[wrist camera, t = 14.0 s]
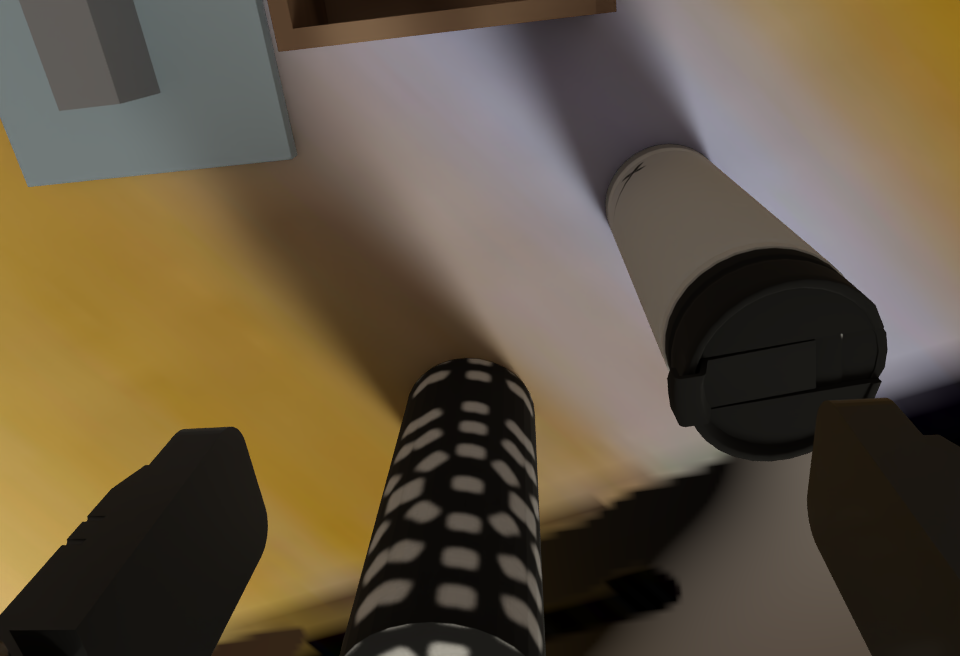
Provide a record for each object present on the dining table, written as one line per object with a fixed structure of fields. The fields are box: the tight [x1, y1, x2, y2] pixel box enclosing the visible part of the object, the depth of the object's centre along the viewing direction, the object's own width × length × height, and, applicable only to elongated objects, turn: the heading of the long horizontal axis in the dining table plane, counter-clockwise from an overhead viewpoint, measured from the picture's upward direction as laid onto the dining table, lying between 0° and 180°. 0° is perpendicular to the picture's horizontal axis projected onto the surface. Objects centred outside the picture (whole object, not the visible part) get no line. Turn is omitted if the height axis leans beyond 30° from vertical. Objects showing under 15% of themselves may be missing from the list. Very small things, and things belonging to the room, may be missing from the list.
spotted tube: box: [340, 358, 546, 656], centre depth 35 cm, size 8×8×20 cm
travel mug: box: [605, 144, 887, 461], centre depth 29 cm, size 6×7×20 cm
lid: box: [0, 0, 297, 187], centre depth 33 cm, size 15×15×6 cm
